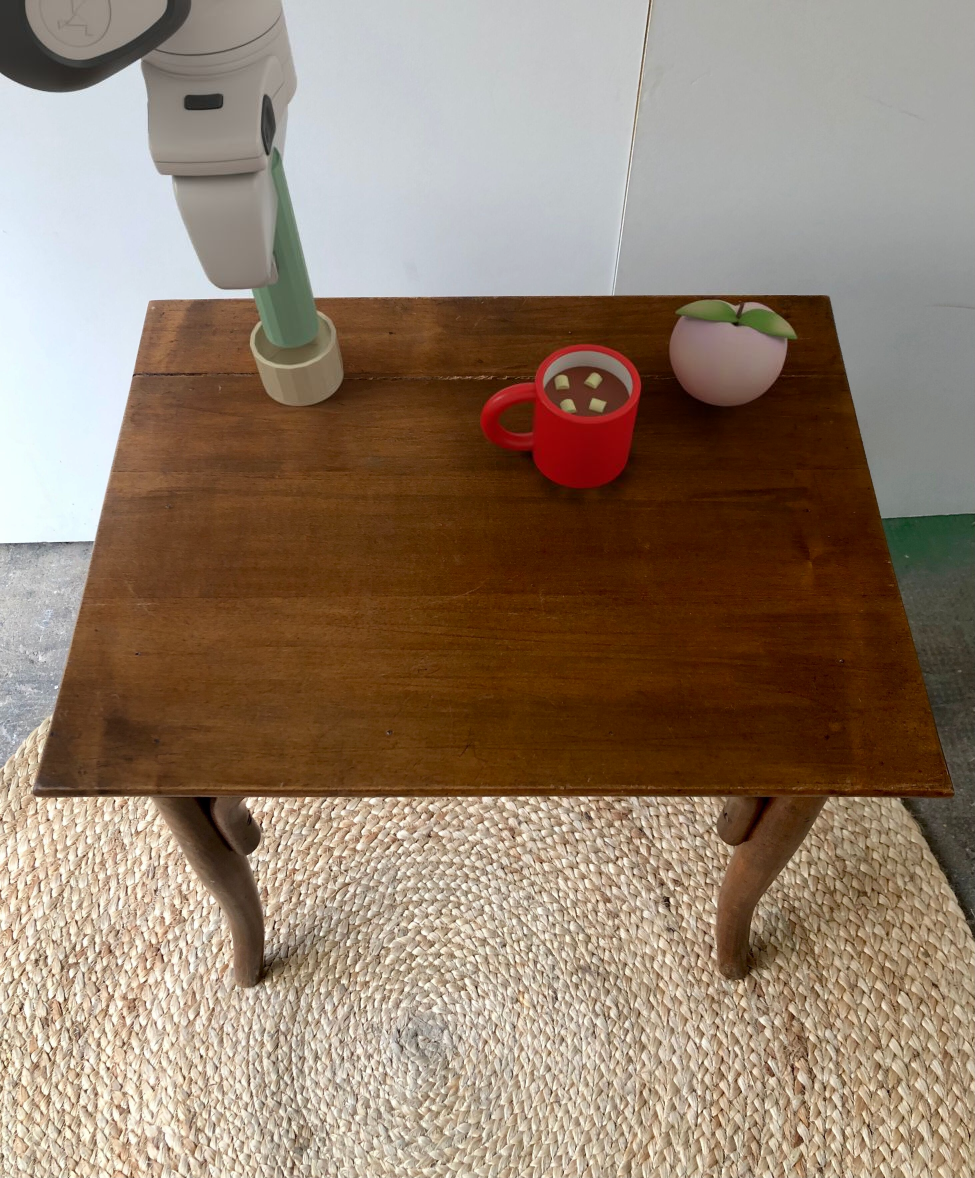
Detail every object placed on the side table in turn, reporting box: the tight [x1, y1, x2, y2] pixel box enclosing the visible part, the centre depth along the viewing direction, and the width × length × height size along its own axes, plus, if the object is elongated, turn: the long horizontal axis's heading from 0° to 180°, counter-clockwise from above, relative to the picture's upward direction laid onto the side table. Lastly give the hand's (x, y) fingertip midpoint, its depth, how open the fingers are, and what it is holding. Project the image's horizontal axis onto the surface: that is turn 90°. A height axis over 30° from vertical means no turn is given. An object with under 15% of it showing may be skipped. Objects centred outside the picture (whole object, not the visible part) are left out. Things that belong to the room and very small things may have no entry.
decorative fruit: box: [669, 299, 798, 407], centre depth 72 cm, size 9×8×10 cm
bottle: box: [251, 146, 319, 348], centre depth 65 cm, size 4×4×19 cm
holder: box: [249, 310, 345, 407], centre depth 76 cm, size 7×7×4 cm
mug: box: [479, 343, 642, 489], centre depth 70 cm, size 8×12×8 cm, turn 95°
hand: (270, 251), depth 67 cm, fingers closed on bottle, 4 cm apart
